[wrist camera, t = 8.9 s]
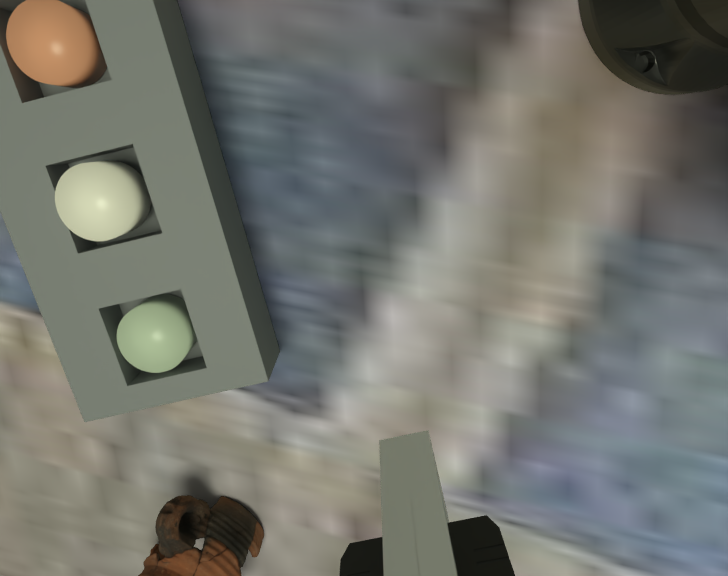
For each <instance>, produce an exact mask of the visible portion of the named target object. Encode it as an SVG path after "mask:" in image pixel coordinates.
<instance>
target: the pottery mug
mask: <svg viewBox="0 0 728 576" xmlns="http://www.w3.org/2000/svg"><path fill="white" fill-rule="evenodd" d="M156 533H157V536H158V539H159V541H160V542H159V544H156V545H155V546H154V547H153V549H151V553H150V556H149V557H147V558H146V560H145V561H144V570H143V572H142V573H141V574H140V575H138V576H241V570H240V568H241V567H243V564H244V562H245V560H246V556H247V554H248V549H249V551H250V552H251V554H252V557H257V556H258V554H259V552H260V548H261V544H262V540H263V537H264V532H263V529H262V527H261V525H260V524H259V523H258V521H257V520H256V519H255V518H254V516H252V515H251V513H250V512H249V511H248V510H246V509H245V508H244V507H243V506H242V505H240V504H239V503H237V502H235V501H233V500H231V499H229V498H226V497H224V496H222V497H220V498H219V500H218V502H217V503H216V504H215V505H214V506H213V507H212V508H211V509H210V508H209V505H208V504H207V502H205V501H204V500H198V499H196V498H194V497H192V496H190V495H187V496H178V497H175V498H174V499H172V500H170V501H168V502H167V503H166V504H165V505H164V506H163V508H162V509H161V511H160V513H159V515H158V517H157V520H156ZM199 538H205V541H204V545H203V549H202V550H199V549H198V548H196V547H193V546H194V544H195V540H196V539H199Z"/></svg>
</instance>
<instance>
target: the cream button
mask: <svg viewBox="0 0 728 576" xmlns="http://www.w3.org/2000/svg"><path fill="white" fill-rule="evenodd" d="M55 204H56V209H57V212H58V214H59V216H60V218H61V220H62V221H63V223H64V224H65V225H66V226H67V227H68V228H69V229H70V230H71V231H72V232H73V233H75V234H76V235H78V236H80V237H82V238H84V239H87V240H91V241H107V240H110V239H113V238H116V237H118V236H121V235H123V234H126V233H128V232H131V231H133V230H135V229H136V228H138V227H139V226H140V225H141V224H142V223H143V222H144V221H145V219H146V218H147V216H148V213H149V210H150V205H151V197H150V194H149V191H148V188H147V185H146V182H145V180H144V179H143V177H142V176H141V175H140V174H139V173H138V172H137V171H136V170H135V169H134V168H132V167H131V166H129V165H127V164H125V163H122V162H118V161H98V162H87V163H81V164H78V165H75V166H73V167H71V168H70V169H68V170H67V171H66V172H65V173H64V174H63V175H62V176H61V178H60V179H59V181H58V184H57V186H56V190H55Z"/></svg>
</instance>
